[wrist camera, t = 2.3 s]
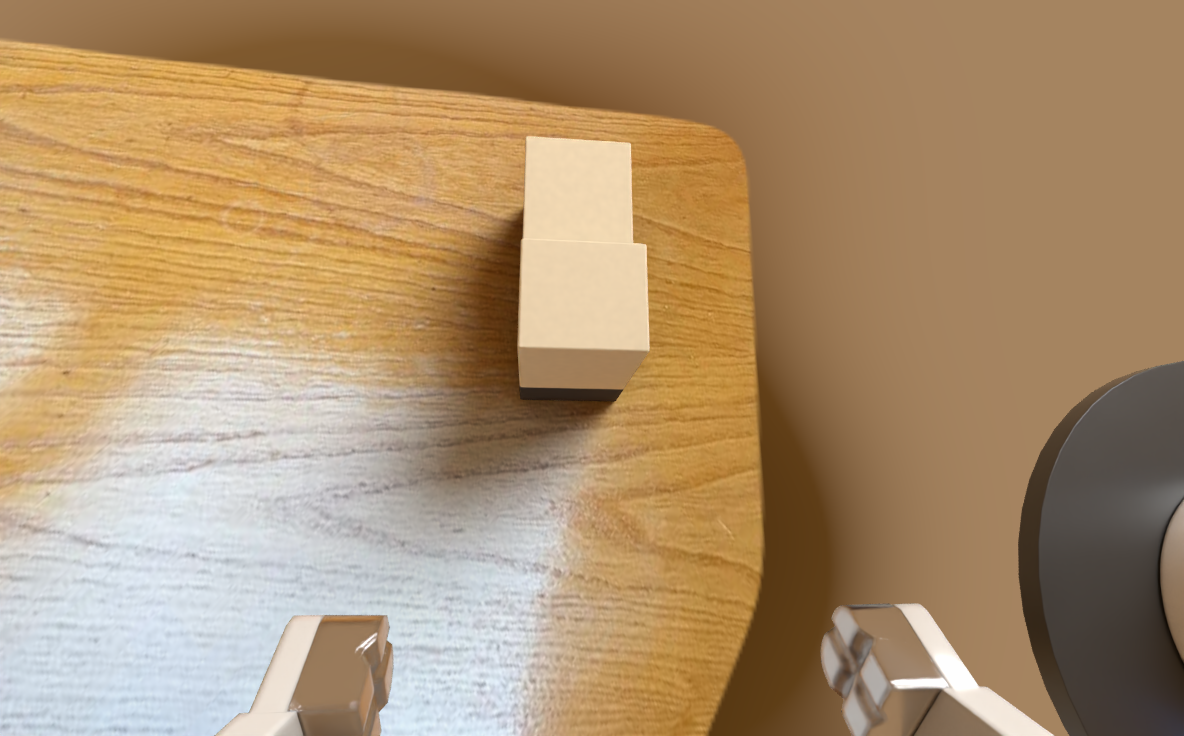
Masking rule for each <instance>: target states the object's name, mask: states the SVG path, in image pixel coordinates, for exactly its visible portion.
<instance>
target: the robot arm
mask: <svg viewBox="0 0 1184 736" xmlns="http://www.w3.org/2000/svg"><path fill="white" fill-rule="evenodd" d="M1160 583H1161V593H1162V600H1163V605H1164V610H1165V615H1166V618H1167V622H1168V626H1169V629H1170V632H1171V635H1172V637H1173V640H1174V643H1175V645H1176V648H1177V650H1178V652H1179V654H1180V656H1181V659H1182V660H1183V662H1184V500H1183V501H1182V502H1181V504H1180V505H1179V507H1178V508H1177V510H1176V511H1175V513H1174V515H1173V517H1172V519H1171V521H1170V523H1169V525H1168V528H1167V531H1166V534H1165V538H1164V542H1163V547H1162V552H1161V562H1160ZM832 620H833V622H834V624H835V627H834V628H832V629H831V630H830V631H828V632H827V633H826V634H825V636H824V638H823V642H822V644H821V662H822V665H823V670H824V673H825V676H826V678H827V680H828V683H829V685H830V687H831V688H832V689H833V690H834V691H835V692H837V694H839V695H840V696H841V697H842V698H843V699H844V701H843V707H842V711H841V712H842V714H843V717H844V719H845V721H846V723H847V725H848V728H849V730H850V732H851V734H852V736H1054V735H1052V734H1051V733H1050V732H1048V731H1047V730H1046V729H1044V728H1043V727H1041V726H1040V725H1039V724H1037V723H1036V722H1034V721H1033V720H1032V719H1030V718H1029V717H1028V716H1026V715H1025V714H1023V713H1022V712H1021V711H1019V710H1018V709H1017V708H1015V707H1014V706H1013V705H1011V704H1010V703H1008V702H1007V701H1006V700H1004V699H1003V698H1002V697H1000V696H999V695H997V694H996V693H994V692H993V691H992V690H991V689H989V688H988V687H979V686H978V685H977V683H976V682H975V680H974V679H973V677H972V676H971V674H970V673H969V672H968V670H967V668H966V667H965V666H964V664H963V663H962V661H961V660H960V658H959V657H958V655H957V654H956V652H955V651H954V649H953V648H952V647H951V645H950V643H949V642H948V641H947V639H946V638H945V636H944V635H943V633H942V632H941V630H940V629H939V627H938V626H937V624H936V623H935V621H934V620H933V618H932V617H931V616H930V614H929V613H928V611H927V610H926V609H925V608H924V607H923V606H921V605H920V604H894V605H891V604H866V605H841V606H840V607H838V608H837V609H835V612H834V614H833V616H832ZM389 628H390V627H389V622H388V617H387V615H301V616H293V617H292V619H291V620H290V621H289V623H288V624H287V625H286V627H285V630H284V632H283V634H282V637H281V639H280V641H279V644H278V646H277V648H276V651H275V653H274V655H273V658H272V660H271V662H270V665H269V667H268V669H267V672H266V674H265V676H264V679H263V681H262V683H261V686H260V688H259V690H258V693H257V695H256V697H255V700H254V702H253V704H252V707H251V709H250V711H249V713H239V714H238V715H237V716H236V717H235V718H234V719H232V720H231V721H230V722H229V723H228V724H227V725H226V726H225V727H224V728H223V729H221V730H220V731H219V732H218V733H217V734H216V735H215V736H380V734H381V725H380V719H379V711H380V710H381V709H382V708H383V707H384V706H385V705H386V704H387V703H388V698H389V693H390V689H391V683H392V674H393V648H392V644H391V643H389V642H388V641H387V637H388V632H389Z"/></svg>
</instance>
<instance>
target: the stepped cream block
mask: <svg viewBox="0 0 1184 736" xmlns="http://www.w3.org/2000/svg"><path fill="white" fill-rule="evenodd" d="M517 348H518V365H519V383H520V398H521V399H522V400H571V401H616V399H617V398H618V397H619V395H620V394H621V392H622V391H623V389H624V387H625V386H626V384H627V383H628V382H629V380H630V379H631V377H632V376H633V374H634V373H635V371H636V370H637V368H638V367H639V365H640V364H641V363H642V361H643V360H644V358H645V357H646V355H647V354H648V352H649V317H648V283H647V250H646V245H645V244H633V222H632V179H631V144H630V143H622V142H607V141H592V140H576V139H561V138H545V137H530V136H527V137H526V146H525V178H524V210H523V239H522V240H521V250H520V281H519V312H518V343H517Z"/></svg>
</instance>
